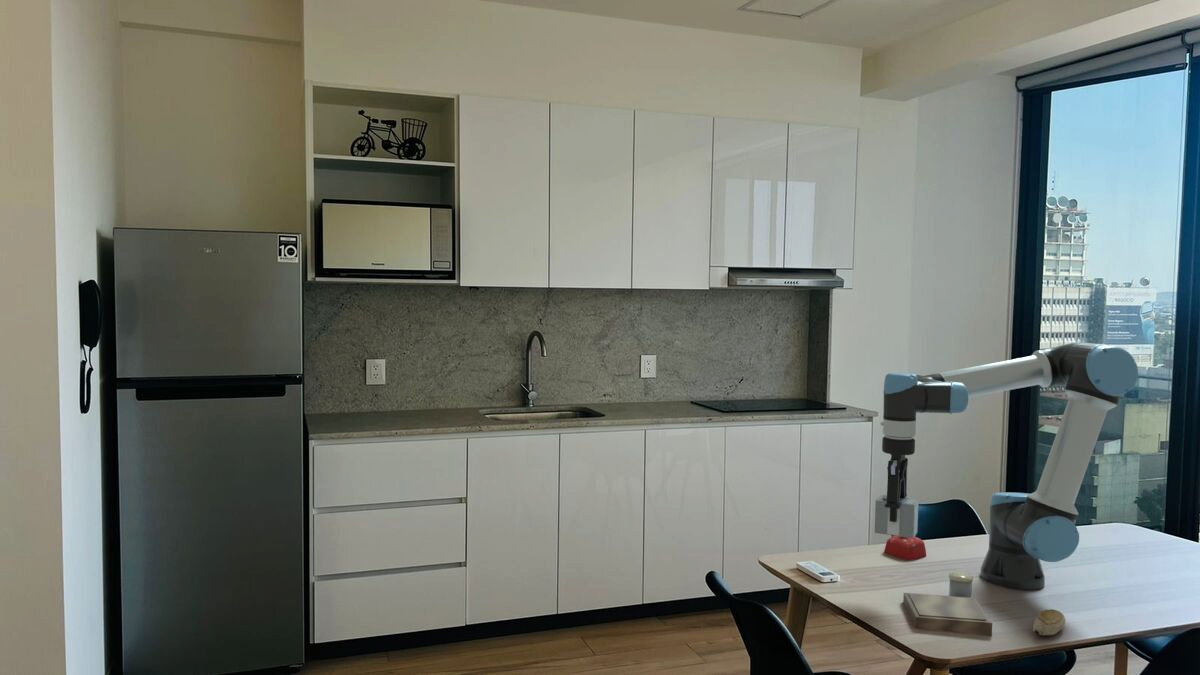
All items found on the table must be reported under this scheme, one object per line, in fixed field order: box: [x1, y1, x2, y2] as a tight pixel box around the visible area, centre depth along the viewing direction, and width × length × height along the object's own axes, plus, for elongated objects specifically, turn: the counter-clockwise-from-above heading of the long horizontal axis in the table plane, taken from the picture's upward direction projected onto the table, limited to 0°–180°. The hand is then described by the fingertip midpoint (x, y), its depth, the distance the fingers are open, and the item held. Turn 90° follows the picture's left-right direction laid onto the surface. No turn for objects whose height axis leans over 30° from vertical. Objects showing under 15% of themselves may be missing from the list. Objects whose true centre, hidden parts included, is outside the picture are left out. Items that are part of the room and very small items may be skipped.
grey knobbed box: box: [874, 494, 919, 538], centre depth 214 cm, size 9×6×9 cm, turn 62°
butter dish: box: [883, 535, 927, 562], centre depth 248 cm, size 12×12×8 cm
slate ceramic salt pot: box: [948, 571, 974, 598], centre depth 213 cm, size 5×5×7 cm
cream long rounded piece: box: [1032, 608, 1066, 637], centre depth 195 cm, size 5×14×4 cm, turn 137°
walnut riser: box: [902, 592, 993, 637], centre depth 202 cm, size 16×16×3 cm
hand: (895, 530), depth 214 cm, fingers closed on grey knobbed box, 6 cm apart
